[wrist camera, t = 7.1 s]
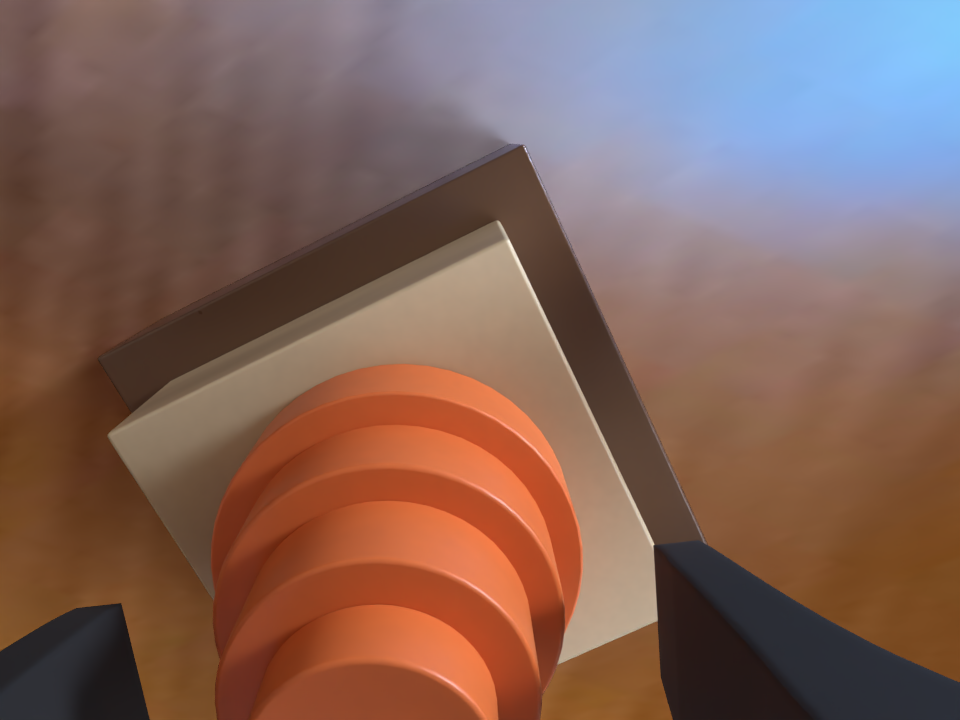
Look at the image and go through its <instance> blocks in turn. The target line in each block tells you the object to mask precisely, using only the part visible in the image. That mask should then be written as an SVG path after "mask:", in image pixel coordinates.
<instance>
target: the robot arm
mask: <svg viewBox="0 0 960 720" xmlns="http://www.w3.org/2000/svg"><path fill="white" fill-rule="evenodd" d="M653 547H654V565H655V582H656V600H657V617H658V635H659V652H660V670H661V679H662V683H663V686H664V690H665V693H666V697H667V700H668V704H669V707H670V711H671V714H672V717H673V720H960V683H959V682H957V681H954V680H952V679H949V678H947V677H945V676H943V675H940V674H938V673H936V672H933V671H931V670H929V669H927V668H924V667H922V666H920V665H917V664H915V663H913V662H911V661H908V660H906V659H904V658H902V657H899V656H897V655H895V654H893V653H891V652H889V651H887V650H885V649H882V648H880V647H878V646H876V645H874V644H872V643H870V642H868V641H866V640H864V639H863V638H861V637H859V636H857V635H855V634H853V633H851V632H850V631H848V630H846V629H844V628H842V627H840V626H838V625H836V624H835V623H833V622H831V621H829V620H827V619H825V618H824V617H822V616H820V615H818V614H817V613H815V612H813V611H811V610H810V609H808V608H806V607H805V606H803V605H801V604H800V603H798V602H796V601H795V600H793V599H791V598H790V597H788V596H786V595H785V594H783V593H782V592H780V591H778V590H777V589H775V588H773V587H772V586H770V585H769V584H767V583H766V582H764V581H762V580H761V579H759V578H758V577H756V576H755V575H753V574H752V573H750V572H749V571H747V570H745V569H744V568H742V567H741V566H739V565H738V564H736V563H735V562H733V561H732V560H730V559H729V558H727V557H725V556H724V555H722V554H721V553H719V552H718V551H716V550H715V549H713V548H711V547H710V546H708V545H706V544H705V543H703V542H701V541H699V540H695V541H686V542H677V543H668V544H659V545H653ZM0 720H150V719H149V715H148V711H147V707H146V703H145V699H144V695H143V690H142V686H141V682H140V678H139V674H138V670H137V666H136V662H135V658H134V654H133V650H132V646H131V642H130V637H129V633H128V629H127V625H126V621H125V617H124V613H123V609H122V605H121V603H120V604H111V605H102V606H92V607H83V608H76V609H74V610H72V611H70V612H67V613H65V614H63V615H61V616H59V617H57V618H55V619H54V620H52V621H50V622H48V623H46V624H45V625H43V626H41V627H39V628H38V629H36V630H34V631H33V632H31V633H29V634H28V635H26V636H24V637H23V638H21V639H20V640H18V641H16V642H15V643H13V644H11V645H10V646H8V647H7V648H5V649H3V650H2V651H0Z"/></svg>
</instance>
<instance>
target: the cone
mask: <svg viewBox="0 0 960 720" xmlns="http://www.w3.org/2000/svg"><path fill="white" fill-rule="evenodd" d="M211 571H212V578H213V585H214V590H215V596H214V602H213V628H214V635H215V642H216V647H217V651H218V654H219V658H220V662H219V665H218V671H217V677H216V683H215V706H216V713H217V720H540V715H541V707H542V695H543V694H544V692H545V690H546V689H547V687H548V685H549V683H550V681H551V679H552V676H553V674H554V672H555V670H556V667H557V664H558V661H559V657H560V654H561V650H562V647H563V639H564V633H565V632H566V629H567V627H568V625H569V623H570V620H571V618H572V616H573V614H574V611H575V607H576V604H577V600H578V597H579V593H580V588H581V580H582V573H583V547H582V540H581V533H580V527H579V523H578V520H577V517H576V514H575V510H574V507H573V504H572V501H571V497H570V494H569V491H568V488H567V485H566V482H565V479H564V475H563V472H562V469H561V466H560V464H559V462H558V460H557V458H556V456H555V454H554V452H553V449H552V448H551V446H550V445H549V443H548V442H547V440H546V438H545V437H544V435H543V434H542V432H541V431H540V430H539V429H538V427H537V426H536V425H535V424H534V423H533V422H532V420H531V419H530V418H529V417H528V416H527V415H526V414H525V413H524V412H523V411H522V410H521V409H519V408H518V407H517V406H516V405H515V404H514V403H513V402H511V401H510V400H509V399H507V398H506V397H504V396H503V395H501V394H500V393H498V392H497V391H495V390H494V389H492V388H491V387H489V386H487V385H485V384H483V383H481V382H479V381H477V380H475V379H473V378H470V377H467V376H464V375H461V374H459V373H456V372H453V371H450V370H445V369H440V368H436V367H431V366H424V365H411V364H393V365H379V366H373V367H367V368H361V369H357V370H354V371H351V372H347V373H344V374H341V375H338V376H335V377H333V378H331V379H329V380H327V381H324V382H322V383H320V384H318V385H316V386H314V387H313V388H311V389H310V390H308V391H307V392H305V393H303V394H302V395H300V396H299V397H297V398H296V399H295V400H294V401H292V402H291V403H290V404H289V405H288V406H286V407H285V408H284V409H283V410H282V411H281V412H280V413H279V414H278V415H277V416H276V417H275V418H274V419H273V421H272V422H271V423H270V424H269V425H268V426H267V427H266V429H265V430H264V432H263V433H262V435H261V436H260V438H259V439H258V441H257V442H256V444H255V445H254V446H253V448H252V449H251V451H250V452H249V454H248V455H247V457H246V458H245V460H244V461H243V463H242V464H241V466H240V467H239V469H238V470H237V472H236V473H235V475H234V476H233V478H232V479H231V481H230V484H229V486H228V488H227V490H226V492H225V494H224V496H223V498H222V500H221V503H220V506H219V509H218V513H217V516H216V519H215V522H214V529H213V535H212V541H211Z"/></svg>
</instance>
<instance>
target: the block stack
mask: <svg viewBox="0 0 960 720" xmlns="http://www.w3.org/2000/svg"><path fill="white" fill-rule="evenodd" d="M98 361H99V363H100V364H101V366H102V367H103V369H104V370H105V372H106V374H107V375H108V377H109V378H110V380H111V381H112V383H113V385H114V386H115V388H116V389H117V391H118V392H119V394H120V396H121V397H122V399H123V400H124V402H125V403H126V405H127V407H128V408H129V410H130V411H131V413H132V414H131V415H130V416H128V417H127V418H126V419H125V420H124V421H122V422H121V423H120V424H119V425H118V426H116V427H115V428H114V429H113V430H112V431H110V432H109V434H108V439H109V440H110V442H111V443H112V445H113V446H114V448H115V450H116V451H117V453H118V454H119V456H120V457H121V459H122V460H123V462H124V463H125V465H126V466H127V468H128V470H129V471H130V473H131V474H132V476H133V477H134V479H135V480H136V482H137V483H138V485H139V487H140V488H141V490H142V491H143V493H144V494H145V496H146V497H147V499H148V500H149V502H150V503H151V505H152V507H153V508H154V510H155V511H156V513H157V514H158V516H159V517H160V519H161V520H162V522H163V523H164V525H165V527H166V528H167V530H168V531H169V533H170V534H171V536H172V537H173V539H174V540H175V542H176V544H177V545H178V547H179V548H180V550H181V551H182V553H183V554H184V556H185V557H186V559H187V560H188V562H189V564H190V565H191V567H192V568H193V570H194V571H195V573H196V574H197V576H198V577H199V579H200V581H201V582H202V584H203V585H204V587H205V588H206V590H207V591H208V593H209V594H210V596H211V597H212V599H213V601H214V596H215V590H214V585H213V578H212V571H211V541H212V535H213V529H214V522H215V519H216V516H217V513H218V509H219V506H220V503H221V500H222V498H223V496H224V494H225V492H226V490H227V488H228V486H229V484H230V481H231V479H232V478H233V476H234V475H235V473H236V472H237V470H238V469H239V467H240V466H241V464H242V463H243V461H244V460H245V458H246V457H247V455H248V454H249V452H250V451H251V449H252V448H253V446H254V445H255V444H256V442H257V441H258V439H259V438H260V436H261V435H262V433H263V432H264V430H265V429H266V427H267V426H268V425H269V424H270V423H271V422H272V421H273V419H274V418H275V417H276V416H277V415H278V414H279V413H280V412H281V411H282V410H283V409H284V408H285V407H286V406H288V405H289V404H290V403H291V402H292V401H294V400H295V399H296V398H297V397H299V396H300V395H302V394H303V393H305V392H307V391H308V390H310V389H311V388H313V387H314V386H316V385H318V384H320V383H322V382H324V381H327V380H329V379H331V378H333V377H335V376H338V375H341V374H344V373H347V372H351V371H354V370H357V369H361V368H367V367H373V366H379V365H393V364H411V365H424V366H431V367H436V368H440V369H445V370H450V371H453V372H456V373H459V374H461V375H464V376H467V377H470V378H473V379H475V380H477V381H479V382H481V383H483V384H485V385H487V386H489V387H491V388H492V389H494V390H495V391H497V392H498V393H500V394H501V395H503V396H504V397H506V398H507V399H509V400H510V401H511V402H513V403H514V404H515V405H516V406H517V407H518V408H519V409H521V410H522V411H523V412H524V413H525V414H526V415H527V416H528V417H529V418H530V419H531V420H532V422H533V423H534V424H535V425H536V426H537V427H538V429H539V430H540V431H541V432H542V434H543V435H544V437H545V438H546V440H547V442H548V443H549V445H550V446H551V448H552V449H553V452H554V454H555V456H556V458H557V460H558V462H559V464H560V466H561V469H562V472H563V475H564V479H565V482H566V485H567V488H568V491H569V494H570V497H571V501H572V504H573V507H574V510H575V514H576V517H577V520H578V523H579V527H580V533H581V540H582V547H583V573H582V580H581V588H580V593H579V597H578V600H577V604H576V607H575V611H574V614H573V616H572V618H571V620H570V623H569V625H568V627H567V629H566V632H565V633H564V639H563V647H562V650H561V654H560V657H559V661H558V664H560V663H562V662H564V661H567V660H569V659H571V658H574V657H576V656H578V655H580V654H583V653H585V652H587V651H590V650H592V649H594V648H596V647H599V646H601V645H603V644H606V643H608V642H610V641H612V640H615V639H617V638H619V637H622V636H624V635H626V634H629V633H631V632H633V631H635V630H638V629H640V628H642V627H645V626H647V625H649V624H651V623H654V622H656V621H658V617H657V600H656V582H655V565H654V547H653V545H659V544H668V543H677V542H686V541H695V540H699V541H701V542H703V543H705V544H706V545H708V544H707V542H706V540H705V537H704V535H703V533H702V531H701V529H700V526H699V524H698V522H697V520H696V518H695V516H694V513H693V511H692V509H691V507H690V505H689V502H688V500H687V498H686V496H685V494H684V491H683V489H682V487H681V485H680V483H679V481H678V478H677V476H676V474H675V472H674V470H673V467H672V465H671V463H670V461H669V459H668V456H667V454H666V452H665V450H664V448H663V446H662V443H661V441H660V439H659V437H658V435H657V432H656V430H655V428H654V426H653V424H652V421H651V419H650V417H649V415H648V413H647V411H646V408H645V406H644V404H643V402H642V400H641V397H640V395H639V393H638V391H637V389H636V386H635V384H634V382H633V380H632V378H631V376H630V373H629V371H628V369H627V367H626V365H625V362H624V360H623V358H622V356H621V354H620V352H619V349H618V347H617V345H616V343H615V341H614V338H613V336H612V334H611V332H610V330H609V327H608V325H607V323H606V321H605V319H604V317H603V314H602V312H601V310H600V308H599V306H598V303H597V301H596V299H595V297H594V295H593V292H592V290H591V288H590V286H589V284H588V282H587V279H586V277H585V275H584V273H583V271H582V268H581V266H580V264H579V262H578V260H577V257H576V255H575V253H574V251H573V249H572V247H571V244H570V242H569V240H568V238H567V236H566V233H565V231H564V229H563V227H562V225H561V223H560V220H559V218H558V216H557V214H556V212H555V209H554V207H553V205H552V203H551V201H550V198H549V196H548V194H547V192H546V190H545V188H544V185H543V183H542V181H541V179H540V177H539V174H538V172H537V170H536V168H535V166H534V163H533V161H532V159H531V157H530V155H529V153H528V150H527V148H526V146H525V145H520V144H509V145H507V146H505V147H503V148H501V149H499V150H497V151H495V152H493V153H491V154H489V155H487V156H485V157H483V158H481V159H479V160H477V161H475V162H473V163H471V164H469V165H467V166H465V167H463V168H461V169H459V170H457V171H455V172H453V173H451V174H449V175H447V176H445V177H443V178H441V179H439V180H437V181H435V182H433V183H431V184H429V185H427V186H425V187H423V188H421V189H419V190H417V191H415V192H413V193H411V194H409V195H407V196H405V197H403V198H401V199H399V200H397V201H395V202H393V203H391V204H389V205H387V206H385V207H384V208H382V209H380V210H378V211H376V212H374V213H372V214H370V215H368V216H366V217H364V218H362V219H360V220H358V221H356V222H354V223H352V224H350V225H348V226H346V227H344V228H342V229H340V230H338V231H336V232H334V233H332V234H330V235H328V236H326V237H324V238H322V239H320V240H318V241H316V242H314V243H312V244H310V245H308V246H306V247H304V248H302V249H300V250H298V251H296V252H294V253H292V254H290V255H288V256H286V257H284V258H282V259H280V260H278V261H276V262H274V263H272V264H270V265H268V266H266V267H264V268H262V269H260V270H258V271H256V272H254V273H252V274H250V275H248V276H246V277H244V278H242V279H240V280H238V281H236V282H234V283H232V284H230V285H228V286H226V287H224V288H222V289H220V290H218V291H216V292H214V293H212V294H210V295H208V296H206V297H204V298H202V299H200V300H198V301H196V302H194V303H192V304H190V305H188V306H186V307H184V308H182V309H180V310H178V311H176V312H174V313H172V314H170V315H168V316H166V317H164V318H163V319H161V320H159V321H157V322H156V323H154V324H152V325H151V326H149V327H147V328H146V329H144V330H142V331H141V332H139V333H137V334H136V335H134V336H132V337H131V338H129V339H127V340H126V341H124V342H122V343H121V344H119V345H117V346H116V347H114V348H112V349H111V350H109V351H107V352H106V353H104V354H103V355H101V356H99V358H98ZM558 664H557V665H558Z"/></svg>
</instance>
